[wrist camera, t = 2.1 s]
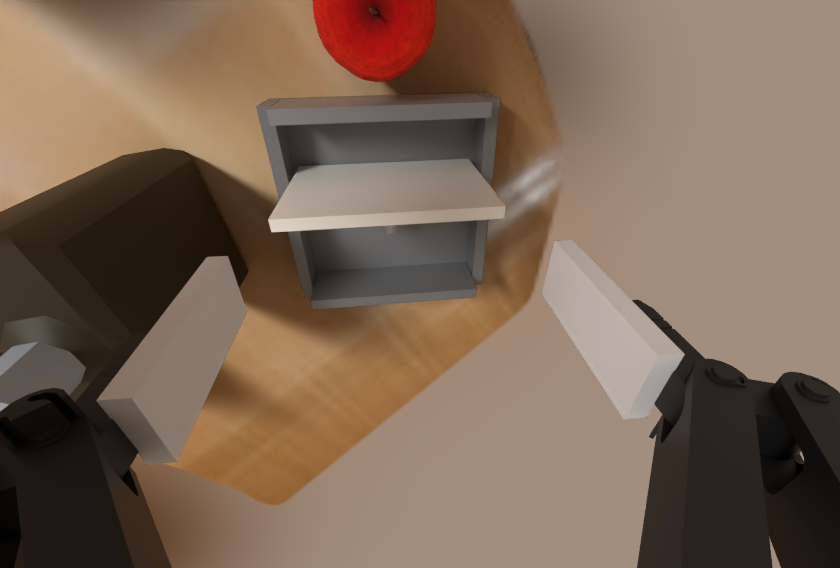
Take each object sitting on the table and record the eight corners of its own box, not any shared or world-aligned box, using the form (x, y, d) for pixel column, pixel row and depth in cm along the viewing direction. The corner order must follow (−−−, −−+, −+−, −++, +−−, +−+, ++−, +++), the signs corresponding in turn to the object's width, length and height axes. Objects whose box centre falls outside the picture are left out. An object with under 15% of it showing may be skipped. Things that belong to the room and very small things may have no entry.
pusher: (299, 166, 36) (267, 219, 25) (468, 158, 37) (505, 206, 27) (310, 221, 39) (287, 288, 29) (465, 212, 41) (497, 273, 30)
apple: (429, -46, 29) (445, -70, 23) (423, 78, 34) (434, 87, 28) (317, -57, 28) (300, -85, 22) (327, 73, 33) (316, 81, 27)
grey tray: (269, 98, 34) (247, 111, 28) (487, 92, 35) (509, 102, 29) (309, 275, 45) (300, 310, 39) (473, 264, 47) (487, 296, 41)
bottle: (189, 142, 35) (-73, 288, 14) (255, 275, 44) (152, 480, 24) (108, 156, 35) (-270, 322, 14) (191, 287, 44) (32, 502, 24)
